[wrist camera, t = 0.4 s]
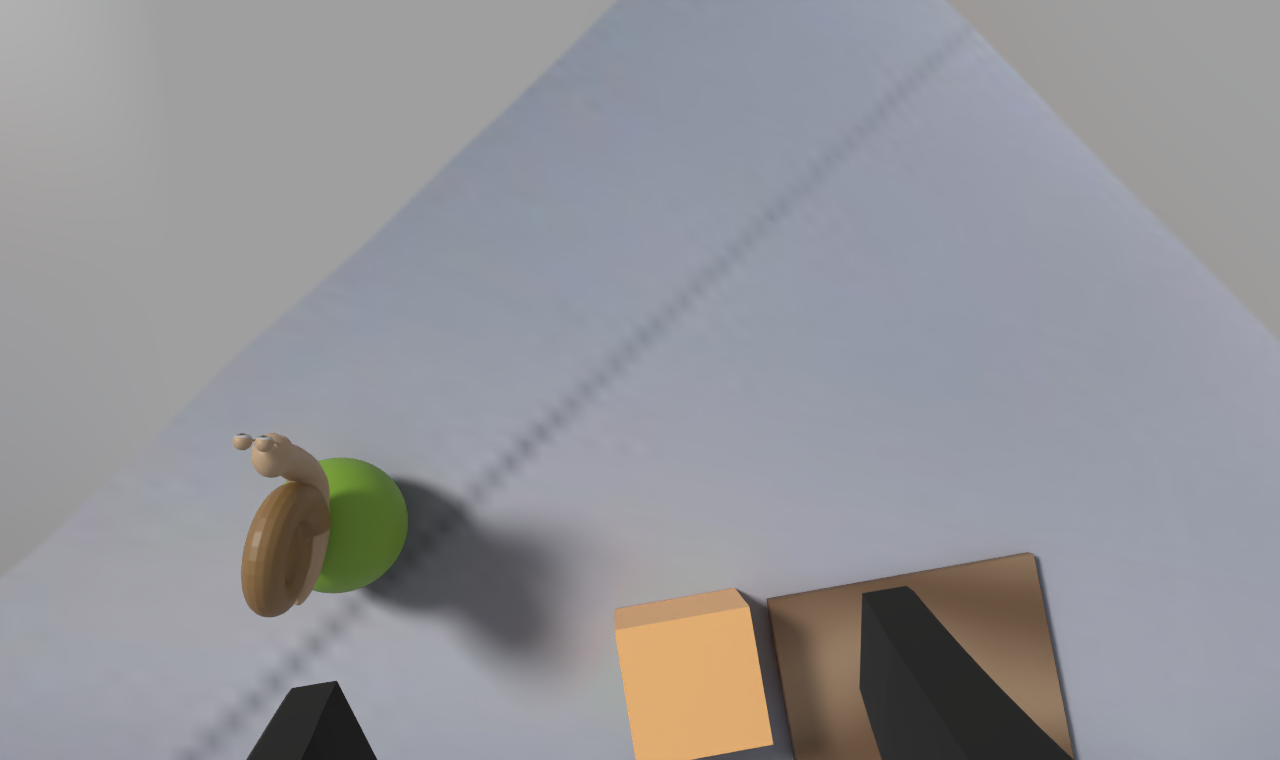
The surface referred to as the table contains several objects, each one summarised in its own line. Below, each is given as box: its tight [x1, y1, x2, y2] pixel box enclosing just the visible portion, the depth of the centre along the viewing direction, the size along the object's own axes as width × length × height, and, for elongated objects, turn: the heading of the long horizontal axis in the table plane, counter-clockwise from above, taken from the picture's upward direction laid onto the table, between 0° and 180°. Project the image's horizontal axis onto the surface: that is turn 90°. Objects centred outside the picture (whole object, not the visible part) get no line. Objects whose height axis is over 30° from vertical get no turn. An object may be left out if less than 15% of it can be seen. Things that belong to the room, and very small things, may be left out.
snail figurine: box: [233, 433, 408, 617], centre depth 31 cm, size 5×6×12 cm
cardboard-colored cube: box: [615, 588, 773, 760], centre depth 35 cm, size 5×5×4 cm
